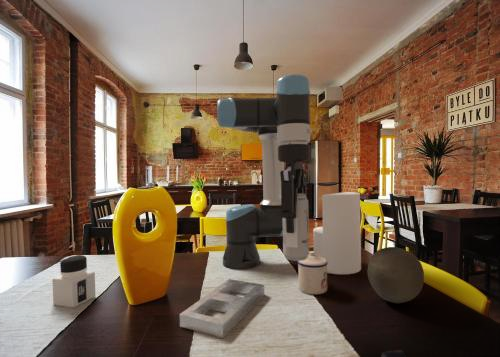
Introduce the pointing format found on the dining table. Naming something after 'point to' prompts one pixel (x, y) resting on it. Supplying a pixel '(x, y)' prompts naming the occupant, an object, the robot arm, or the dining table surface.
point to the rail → (222, 308)
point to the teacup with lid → (313, 274)
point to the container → (73, 282)
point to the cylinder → (340, 233)
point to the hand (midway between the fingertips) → (295, 243)
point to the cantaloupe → (395, 274)
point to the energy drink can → (299, 231)
